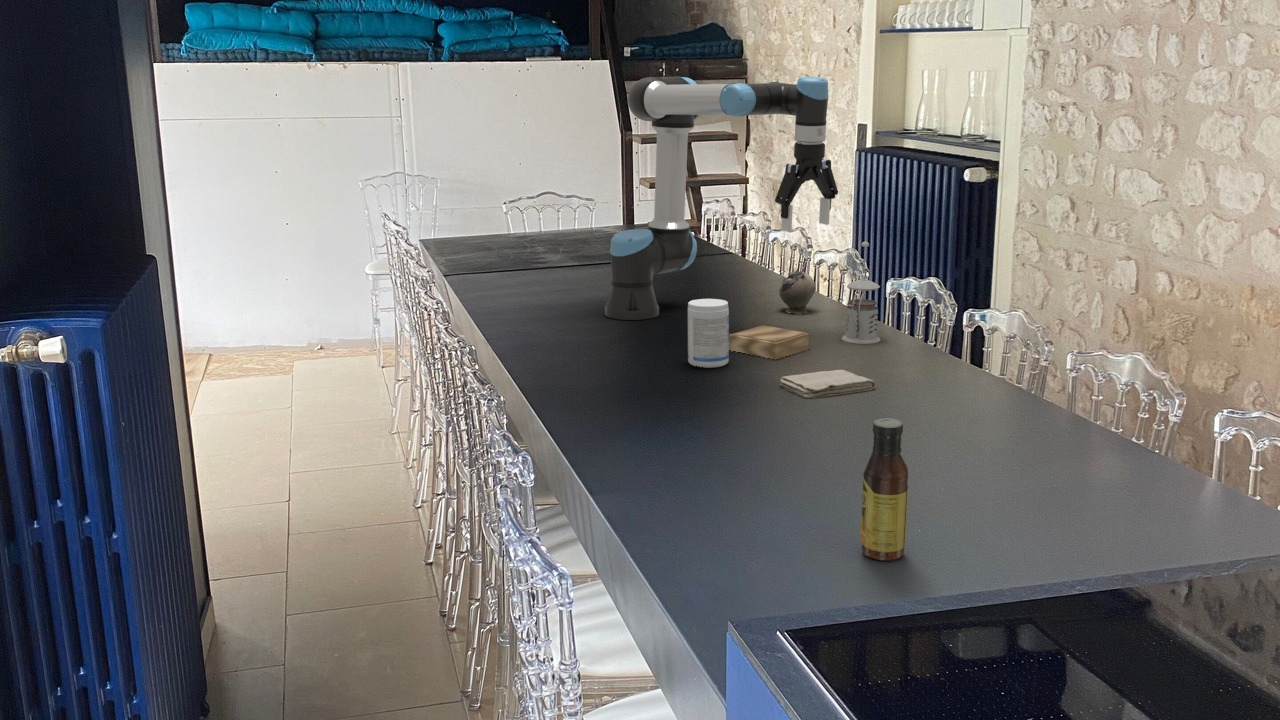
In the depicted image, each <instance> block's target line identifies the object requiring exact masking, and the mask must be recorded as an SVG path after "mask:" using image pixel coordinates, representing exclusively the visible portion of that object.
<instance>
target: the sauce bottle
mask: <svg viewBox="0 0 1280 720" xmlns="http://www.w3.org/2000/svg"><path fill="white" fill-rule="evenodd" d="M872 423H873V424H872V432H873V446H872V453H871V455H870V457H869V459H868V462H867V464H866V466H865V469H864V471H863V473H862V493H861V494H862V496H861V497H862V499H861V523H860V527H861V529H860V543H861V550H862V552H863V555H864V556H865V557H868V558H871V559H873V560H877V561H884V562H891V561H895V560H898V559H901V558H902V557H904V554H905V546H906V542H907V541H906V540H907V526H908V525H907V520H908V517H907V516H908V502H909V501H908V499H909V498H908V497H909V485H908V483H909V482H908V481H909V480H908V479H909V469H908V466H907V464H906V462H905V460H904V459H903V457H902V455H901V453H902V448H901V445H902V434H903V432H904V431H903V430H904V423H903V422H902V421H901V420H900V419H895V418H890V417H888V418H887V417H885V418H878V419H875V420H874V421H873V422H872Z"/></svg>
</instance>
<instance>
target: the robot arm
mask: <svg viewBox="0 0 1280 720" xmlns="http://www.w3.org/2000/svg"><path fill="white" fill-rule="evenodd" d="M828 102H829V82H828V79H826V78H825V77H820V76H802V77H799V78H798V79H797V83H796V84H793V83H786V82H785V83H784V82H779V81H766V82H763V83H761V82H759V83H742V82H741V83H739V82H738V83H736V82H735V83H707V84H706V83H703V84H702V83H697V82H696V81H694V80H693V79H691V78H690V77H686V76H685V77H683V76H657V77H653V76H649V77H643V78H641V79H639V80H637V81H635V82H634V83H633V84H632V86H631V87H630V89H629V91H628V93H627V105H628V108H629V110H630V112H631V113H632V115H634V116H635V118H637V119H639V120H640V121H641V120H642V121H644V122H651V127H652V129H653V130H654V131H655V132H656V150H655V151H656V152H655V154H656V156H655V157H656V158H655V180H654V181H655V182H654V184H655V186H654V210H653V211H654V213H653V214H654V215H653V219H652V220H651V221H650V222H649V223H648V226H647V227H648V229H647V228H634V229H626V230H621V231H619V232H616V233H615V234H613V236H612V237H611V239H610V249H609V253H610V291H609V295H608V297H607V302H606V304H605V307H604V315H605V317H608V318H609V319H610V318H611V319H613V320H620V321H621V320H624V321H639V320H649V319H653V318H657V317H659V315H660V306H659V304H658V303H657V298H656V293H655V290H654V287H653V286H654V284H653V281H654V279H653V277H654V276H653V275H659V274H665V273H666V274H667V273H675V272H678V271H681V270H684V269H687V268H688V267H690V265H692V263H694V261H695V259H696V257H697V252H698V244H697V243H698V242H697V239H695V235H694V233H693V232H692V231H691V230H690V224H689V222H687V220H685V212H686V211H685V209H686V208H685V207H686V191H687V190H686V188H687V187H686V186H687V163H688V140H689V139H688V138H689V133H690V132H691V131H693V129H694V127H695V120H696V119H698V118H699V117H700V116H734V117H744V116H757V115H759V116H762V115H763V116H764V115H785V116H787V115H788V116H793V117H794V116H795V123H794V124H795V125H794V141H796V142H795V143H794V144H793V145H794V146H793V157H794V158H795V164H791V163H786V164H785V169H784V170H785V171H784V175H783V178H782V180H781V182H780V185H779V188H778V190H777V193H776V195H775V199H774V202H775V203H776V204H778V205H780V217H781V231H782V232H783V231H784V232H787V233H791V232H792V231H793V230H792V229H793V228H792V226H793V225H792V224H793V209H794V208H793V206H794V205H791V204H792V202H793V200H794V198H795V197H796V195H797V193H798V192H799V190H800V189H801V186H802V185H803V184H805V183H806V182H809V181H814V183H815V185H816V187H817V189H818V190H819V191H820V194H821V195H822V197H820V198H819V199H820V202H819V217H818V224H822V225H825V226H826V225H827V226H828V225H830V212H831V210H832V200H834V199H836V196H837V195H838V194H839V190H838V187H837V183H836V180H835V176H834V174H833V169H832V160H830V159H827V158H825V157H826V155H825V153H826V144H825V141H826V132H827V115H828V114H827V113H828Z"/></svg>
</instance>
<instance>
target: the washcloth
mask: <svg viewBox="0 0 1280 720" xmlns="http://www.w3.org/2000/svg"><path fill="white" fill-rule="evenodd" d="M779 380H780V382H781V383H780V384H779V386H780V387H782V388H783V389H784V390H785V391H789V392H790V393H793V394H795V395H797V396H799V397H801V398H804V399H817V398H824V397H830V396H831V397H833V396H838V395H845V394H852V393H859V392H865V391H872V390H873V389H875V388H876V385H877V384H876V381H874V380H873V379H870V378H868V377H865V376H860V375H857V374H855V373H852V372H850V371H847V370H846V369H835V370H826V371H825V370H823V371H817V372H816V371H815V372H808V373H801V374H794V375H793V374H791V375H785V376H781V377H780V379H779Z"/></svg>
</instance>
